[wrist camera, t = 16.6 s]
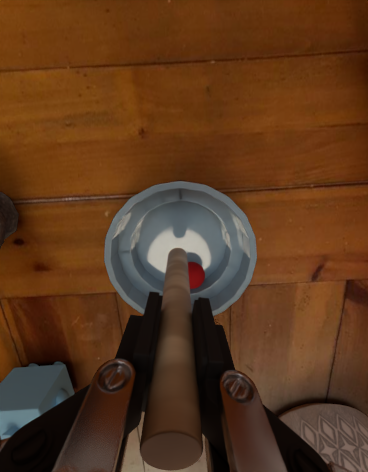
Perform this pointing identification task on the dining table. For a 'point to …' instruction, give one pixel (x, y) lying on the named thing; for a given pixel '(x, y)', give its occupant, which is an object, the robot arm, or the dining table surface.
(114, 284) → the mixing bowl
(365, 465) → the planter
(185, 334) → the stick
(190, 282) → the berry
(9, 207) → the mortar and pestle
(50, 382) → the teapot
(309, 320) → the dining table surface
